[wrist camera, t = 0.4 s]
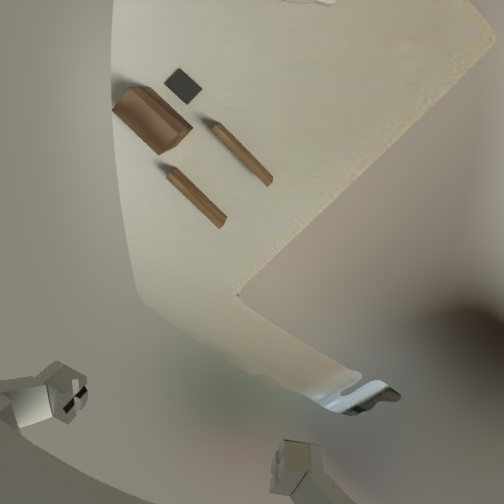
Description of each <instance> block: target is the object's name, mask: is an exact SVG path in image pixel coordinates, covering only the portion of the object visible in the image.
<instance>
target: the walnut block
mask: <svg viewBox="0 0 504 504" xmlns="http://www.w3.org/2000/svg"><path fill="white" fill-rule="evenodd" d="M112 111H113V112H114V113H115V114H116V115H117V116H118V117H119V118H120V119H121V120H122V121H123V122H124V123H125V124H127V125H128V126H129V127H130V128H131V129H132V130H133V131H134V132H135V133H136V134H137V135H138V136H139V137H140V138H141V139H142V140H143V141H144V142H145V143H146V144H147V145H148V146H149V147H150V148H151V149H152V150H153V151H154V152H155V153H157V154H158V155H161V154H162V153H164V152H166V151H168V150H170V149H172V148H174V147H176V146H177V145H178V144H179V143H180V142H181V140H182V139H183V138H184V137H185V136H186V135H187V134H188V133H189V132H190V131H191V130H192V129H193V127H192V126H191V125H190V124H189V123H188V122H187V121H186V120H185V119H184V118H183V117H181V116H180V115H179V114H178V113H177V112H176V111H175V110H174V109H173V108H172V107H171V106H170V105H169V104H168V103H167V102H166V101H164V100H163V99H162V98H161V97H160V96H159V95H158V94H157V93H156V92H155V91H154V90H153V89H151V88H128V90H127V91H126V92H125V93H124V95H123V96H122V97H121V99H120V100H119V101H118V102H117V104H116V105H115V106H114V108H113V109H112Z"/></svg>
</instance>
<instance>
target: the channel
mask: <svg viewBox="0 0 504 504" xmlns="http://www.w3.org/2000/svg"><path fill="white" fill-rule="evenodd" d="M211 131H212V132H214V133H215V134H216V135H217V136H218V137H219V138H220V139H221V140H222V141H223V142H224V143H225V144H226V145H227V146H228V147H229V148H230V149H231V150H232V151H233V152H234V153H235V154H236V155H237V156H238V157H239V158H240V159H241V160H242V161H243V162H244V163H245V164H246V165H247V166H248V168H249V169H250V170H251V171H252V172H253V173H254V174H255V175H256V176H257V177H258V178H259V179H260V180H261V181H262V182H263V183H264V184H265V185H266V186H267V187H268V186H269V185H270V184H271V183H272V181H273V176H272V175H271V174H270V173H269V172H268V171H267V170H266V169H265V168H264V167H263V166H262V165H261V164H260V163H259V162H258V161H257V160H256V159H255V158H254V157H253V156H252V155H251V153H250V152H249V151H248V150H247V149H246V148H245V147H244V146H243V145H242V144H241V143H240V142H239V141H238V140H237V139H236V138H235V137H234V136H233V135H232V134H231V133H230V132H229V131H228V130H227V129H226V128H225V127H224V126H223V125H222V124H221V123H219V124H217V125H215V126H214V127H213V128H212V129H211ZM166 178H167V179H168V180H169V181H170V182H171V183H172V184H173V185H174V186H175V187H176V188H177V189H178V190H179V191H180V192H181V193H182V194H183V195H184V196H186V197H187V198H188V199H189V200H190V201H191V202H192V203H193V204H194V205H195V206H196V207H197V208H198V209H199V210H200V211H201V212H202V213H203V214H204V215H205V216H206V217H207V218H208V219H209V220H210V221H211V222H212V223H214V224H215V225H216V226H217V227H218V228H219V229H220V228H221V227H222V226H223V225H224V223H225V221H226V219H227V216H226V215H225V214H223V213H222V212H221V211H220V210H219V209H218V208H217V207H216V206H215V205H214V204H213V203H212V202H211V201H210V200H209V199H208V198H207V197H206V196H205V195H204V194H203V193H202V192H201V191H200V190H199V189H198V188H197V187H196V186H195V185H194V184H193V183H192V182H191V181H190V180H189V179H188V178H187V177H186V176H185V175H183V174H182V173H181V172H180V171H179V170H178V169H177V168H176V169H174V170H173V171H172V172H170V173H169V174H168V175H167V176H166Z"/></svg>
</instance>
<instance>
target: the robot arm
mask: <svg viewBox="0 0 504 504" xmlns="http://www.w3.org/2000/svg"><path fill="white" fill-rule="evenodd" d="M285 1H289V2H297V3H305V2H317V3H320V4H324V5H334V4H335V3H336V2H337V1H338V0H285ZM86 383H87V378H86V376H85V375H84V374H82V373H80V372H78V371H76V370H74V369H72V368H70V367H69V366H67V365H65V364H63V363H61V362H59V361H54V362H53V363H52V364H50V365H49V366H48V367H47V368H45V369H44V370H43V371H42V372H40V374H38V375H37V376H36V377H32V376H30V377H23V378H16V379H9V380H2V381H0V504H154V503H151V502H149V501H146V500H143V499H141V498H138V497H135V496H133V495H131V494H128V493H126V492H123V491H121V490H119V489H116V488H114V487H112V486H110V485H108V484H105V483H103V482H101V481H99V480H97V479H95V478H93V477H91V476H89V475H87V474H85V473H83V472H81V471H79V470H77V469H76V468H74V467H72V466H70V465H68V464H67V463H65V462H63V461H61V460H60V459H58V458H56V457H55V456H53V455H51V454H50V453H48V452H47V451H45V450H44V449H42V448H40V447H39V446H37V445H36V444H34V443H33V442H31V441H30V440H28V439H27V438H25V437H24V436H23V435H22V434H21V431H20V428H21V427H24V426H27V425H30V424H33V423H36V422H39V421H42V420H45V419H47V418H50V417H52V416H54V417H55V418H57V419H59V420H61V421H63V422H65V423H67V424H69V423H70V422H71V421H72V420H73V419H74V417H75V416H76V411H77V410H81V409H82V408H83V407H84V406H85V404H86V401H87V397H88V390H87V389H86V387H85V384H86ZM271 473H272V474H273V476H272V478H271V480H270V490H269V492H270V493H273V494H279V495H286V496H290V498H291V499H292V501H293V502H294V504H356V503H355V502H354V501H353V500H352V499H351V498H350V497H349V496H348V495H347V494H346V493H345V492H344V491H343V490H342V489H341V488H340V486H338V484H337V483H336V482H335V481H334V480H333V479H332V478H331V477H330V476H329V475H328V474H325V472H324V463H323V455H322V446H321V445H320V444H315V443H307V442H300V441H293V440H287V439H283V440H282V441H281V443H280V447H279V451H276V453H275V455H274V458H273V461H272V465H271Z"/></svg>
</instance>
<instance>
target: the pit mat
mask: <svg viewBox="0 0 504 504" xmlns="http://www.w3.org/2000/svg"><path fill="white" fill-rule="evenodd" d="M165 85H166V86H168V87H169V88H170V89H171V90H172V91H173V92H174V93H175V94H176V95H177V96H178V97H179V98H181V99H182V100H183V101H184V102H185V103H186V104H188V103H189V102H190V101H191V100H192V99H193V98H194V97H195V96H196V95H197V94H198V93H199V92H200V91H201V90H202V88H201V87H200V86H199V85H198V84H196V83H195V82H194V81H193V80H192V79H191V78H190V77H189V76H188V75H187V74H186V73H184V72H183V71H182V70H181V69H179V70H178V71H177V72H176V73H175V74H174V75H173V76H172V77H171V78H170V79H169V80H168V82H167V83H166V84H165Z"/></svg>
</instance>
